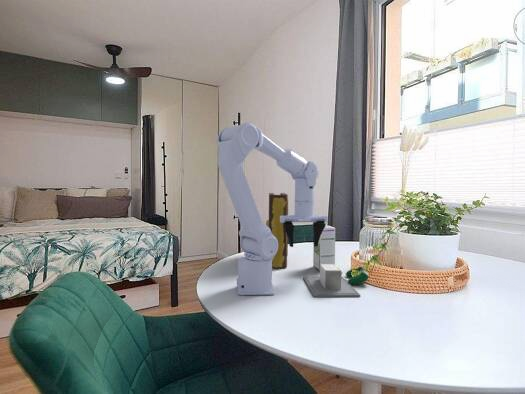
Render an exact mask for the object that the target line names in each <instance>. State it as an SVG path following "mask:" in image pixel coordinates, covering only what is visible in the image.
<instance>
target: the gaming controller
mask: <svg viewBox="0 0 525 394" xmlns="http://www.w3.org/2000/svg"><path fill="white" fill-rule="evenodd" d="M352 270H358V271H359V275H356V276H354V277H352V275H351V272H352ZM366 270H367V269H366ZM366 270H365V269H363V265H362V264H360V266H359V267H357V268H353V269H349V270H347V272H346V273H345V276H346V277H347V278H349V279H348V280H347V282H348V283H349V284H350V285H351V286H354V285H355V286H356V285H359V284H364V283H366V282H367V281H368V279H369V278H370V274H369V271H368V270H367V271H366Z"/></svg>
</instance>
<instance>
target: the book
mask: <svg viewBox="0 0 525 394" xmlns="http://www.w3.org/2000/svg"><path fill="white" fill-rule="evenodd" d="M288 215H289V194H287V193H285V192H281V193H280V194H275V193H274V192H268V219H267V220H266V221H265V225H266V226H267V227H269V228H270V230H271V233H272V234H273V236H275V237H276V239H277V241H278V250H277V253H276V255H275V256H274V259H272V270H284V269H287V267H288V255H289V254H288V251H289V249H288V247H289V246H288V245H289V244H288V243H289V240H288V236H287V233H286V230H285V228H284V226H283V223H281V222H280V216H288Z"/></svg>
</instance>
